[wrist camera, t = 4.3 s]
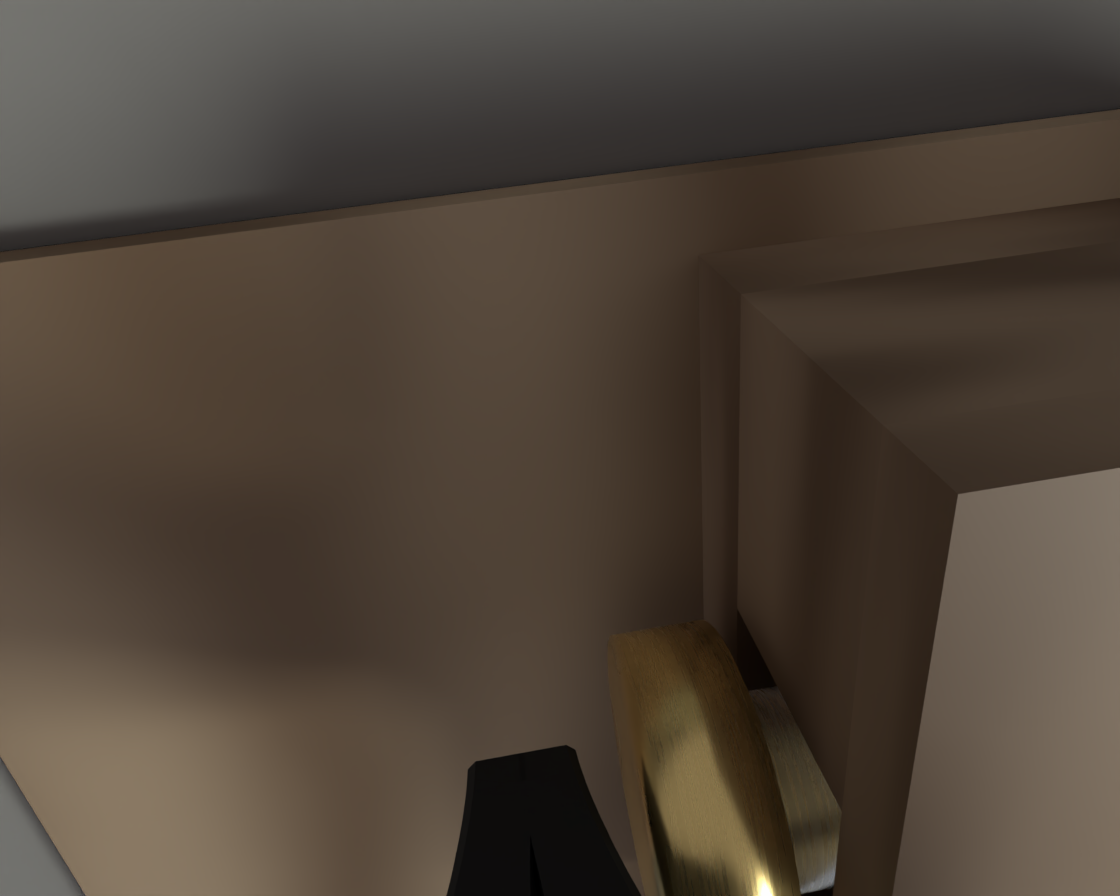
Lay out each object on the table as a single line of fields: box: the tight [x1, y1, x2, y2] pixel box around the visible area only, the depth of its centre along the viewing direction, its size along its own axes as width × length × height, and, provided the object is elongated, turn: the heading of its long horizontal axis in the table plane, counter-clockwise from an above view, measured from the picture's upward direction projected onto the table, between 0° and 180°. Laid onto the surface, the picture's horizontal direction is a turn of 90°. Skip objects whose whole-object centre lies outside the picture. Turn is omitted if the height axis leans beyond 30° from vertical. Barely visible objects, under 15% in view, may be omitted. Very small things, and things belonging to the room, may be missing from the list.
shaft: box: [607, 620, 842, 896], centre depth 11 cm, size 11×4×4 cm, turn 95°
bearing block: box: [0, 109, 1120, 896], centre depth 11 cm, size 22×14×6 cm, turn 95°
